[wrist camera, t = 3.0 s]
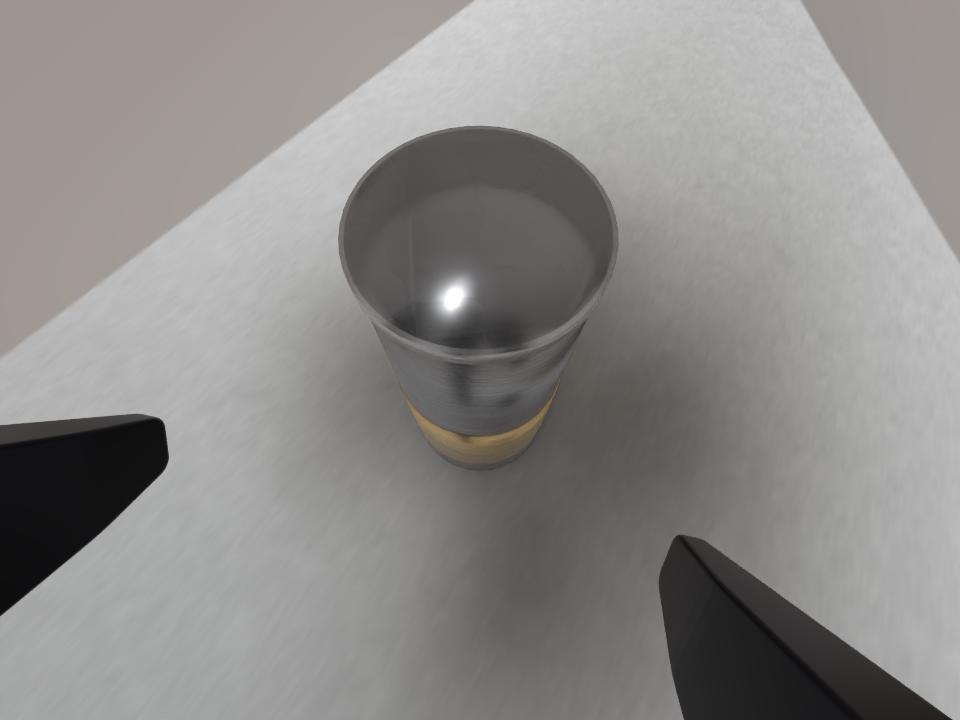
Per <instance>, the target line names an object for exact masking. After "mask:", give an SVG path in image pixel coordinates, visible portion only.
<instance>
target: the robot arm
mask: <svg viewBox="0 0 960 720" xmlns="http://www.w3.org/2000/svg"><path fill="white" fill-rule="evenodd" d="M168 460H169V453H168V445H167V438H166V430H165V425H164V423H163V421H162V420H161V419H160V418H157V417H153V416H148V415H144V414H127V415H116V416H104V417H92V418H81V419H69V420H57V421H45V422H34V423H22V424H10V425H0V616H1V615H3V614H4V613H5V612H6V611H7V610H9V609H10V608H11V607H12V606H14V605H15V604H16V603H17V602H18V601H20V600H21V599H22V598H23V597H24V596H26V595H27V594H28V593H29V592H30V591H32V590H33V589H34V588H35V587H36V586H38V585H39V584H40V583H41V582H43V581H44V580H45V579H46V578H47V577H49V576H50V575H51V574H52V573H53V572H55V571H56V570H57V569H58V568H59V567H61V566H62V565H63V564H64V563H66V562H67V561H68V560H69V559H70V558H72V557H73V556H74V555H75V554H76V553H78V552H79V551H80V550H81V549H82V548H84V547H85V546H86V545H87V544H88V543H90V542H91V541H92V540H93V539H94V538H95V537H97V536H98V535H99V534H100V533H101V532H102V531H103V530H104V529H105V528H107V527H108V526H109V525H110V524H111V523H112V522H113V521H114V520H115V519H116V518H117V517H118V516H119V515H120V514H121V513H122V512H123V511H124V510H125V509H126V508H127V507H128V506H129V505H130V504H131V503H132V502H133V501H134V500H135V499H136V498H137V497H138V496H139V495H140V494H141V493H142V492H143V491H144V490H145V489H146V488H147V487H149V486H150V485H151V484H152V483H153V482H154V481H155V480H156V479H157V478H158V477H159V476H160V475H161V474H162V472H163V471H164V470H165V468H166V466H167V464H168ZM659 592H660V598H661V605H662V612H663V618H664V625H665V632H666V638H667V645H668V652H669V658H670V664H671V670H672V675H673V679H674V683H675V687H676V691H677V695H678V699H679V703H680V706H681V710H682V714H683V718H684V720H952V719H951V718H949V717H948V716H947V715H945V714H944V713H942V712H941V711H940V710H938V709H937V708H936V707H934V706H933V705H931V704H930V703H929V702H927V701H926V700H924V699H923V698H922V697H920V696H919V695H918V694H916V693H915V692H913V691H912V690H911V689H909V688H908V687H906V686H905V685H904V684H902V683H901V682H900V681H898V680H897V679H895V678H894V677H893V676H891V675H890V674H888V673H887V672H886V671H884V670H883V669H882V668H880V667H879V666H877V665H876V664H875V663H873V662H872V661H871V660H869V659H868V658H866V657H865V656H864V655H862V654H861V653H859V652H858V651H857V650H855V649H854V648H853V647H851V646H850V645H848V644H847V643H846V642H844V641H843V640H841V639H840V638H839V637H837V636H836V635H835V634H833V633H832V632H830V631H829V630H828V629H826V628H825V627H823V626H822V625H821V624H819V623H818V622H817V621H815V620H814V619H812V618H811V617H810V616H808V615H807V614H805V613H804V612H803V611H801V610H800V609H799V608H797V607H796V606H794V605H793V604H792V603H790V602H789V601H787V600H786V599H785V598H783V597H782V596H781V595H779V594H778V593H776V592H775V591H774V590H772V589H771V588H769V587H768V586H767V585H765V584H764V583H763V582H761V581H760V580H758V579H757V578H756V577H754V576H753V575H751V574H750V573H749V572H747V571H746V570H745V569H743V568H742V567H740V566H739V565H738V564H736V563H735V562H733V561H732V560H731V559H729V558H728V557H727V556H725V555H724V554H722V553H721V552H720V551H718V550H717V549H716V548H714V547H713V546H711V545H710V544H709V543H707V542H706V541H704V540H702V539H700V538H695V537H691V536H686V535H677V536H676V537H675V538H674V539H673V541H672V544H671V546H670V549H669V551H668V554H667V556H666V559H665V561H664V564H663V566H662V569H661V571H660V576H659Z"/></svg>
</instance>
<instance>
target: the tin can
mask: <svg viewBox="0 0 960 720" xmlns="http://www.w3.org/2000/svg"><path fill="white" fill-rule="evenodd" d="M338 241H339V255H340V259H341V264H342V268H343V271H344V273H345V276H346V278H347V281H348V283H349V285H350V288H351V290H352V292H353V294H354V296H355V298H356V299H357V301H358V303H359V304H360V306H361V308H362V309H363V311H364V312H365V313H366V315H367V316H368V317H369V318H370V319H371V321H372V323H373V325H374V327H375V330H376V332H377V334H378V336H379V338H380V340H381V343H382V345H383V347H384V349H385V351H386V353H387V356H388V358H389V360H390V362H391V364H392V366H393V369H394V371H395V373H396V375H397V377H398V381H399V384H400V387H401V389H402V392H403V394H404V396H405V398H406V400H407V402H408V405H409V407H410V409H411V411H412V413H413V415H414V417H415V419H416V422H417V424H418V426H419V428H420V430H421V431H422V433H423V435H424V436H425V438H426V440H427V441H428V443H429V445H430V446H431V447H432V448H433V450H434V451H435V452H436V453H437V454H438V455H439V456H441V457H442V458H443V459H445V460H446V461H448V462H450V463H451V464H453V465H456V466H458V467H461V468H465V469H469V470H490V469H495V468H498V467H501V466H504V465H506V464H508V463H510V462H512V461H513V460H515V459H516V458H518V457H519V456H520V455H521V454H522V453H523V452H524V451H525V450H526V449H527V448H528V447H529V445H530V444H531V442H532V441H533V439H534V437H535V435H536V433H537V432H538V430H539V428H540V426H541V424H542V422H543V420H544V417H545V415H546V413H547V411H548V409H549V406H550V404H551V402H552V400H553V398H554V395H555V393H556V391H557V389H558V386H559V383H560V380H561V376H562V374H563V371H564V369H565V367H566V365H567V362H568V360H569V358H570V356H571V353H572V351H573V349H574V347H575V344H576V342H577V340H578V338H579V335H580V333H581V331H582V328H583V326H584V324H585V322H586V319H587V318H588V317H589V316H590V314H591V313H592V311H593V310H594V308H595V307H596V306H597V304H598V303H599V301H600V299H601V297H602V295H603V293H604V291H605V289H606V286H607V284H608V282H609V280H610V278H611V276H612V272H613V269H614V266H615V263H616V258H617V251H618V228H617V223H616V217H615V214H614V211H613V208H612V205H611V202H610V200H609V198H608V196H607V194H606V192H605V191H604V189H603V187H602V186H601V184H600V183H599V182H598V180H597V179H596V177H595V176H594V175H593V174H592V173H591V172H590V171H589V170H588V169H587V168H586V167H585V165H583V164H582V163H581V162H580V161H579V160H577V159H576V158H575V157H574V156H573V155H571V154H570V153H568V152H567V151H565V150H564V149H562V148H560V147H559V146H557V145H555V144H553V143H551V142H549V141H547V140H545V139H542V138H540V137H537V136H534V135H532V134H529V133H525V132H521V131H518V130H513V129H507V128H501V127H490V126H465V127H457V128H449V129H445V130H440V131H436V132H432V133H429V134H426V135H423V136H420V137H417V138H415V139H413V140H411V141H409V142H406V143H404V144H402V145H401V146H399V147H397V148H396V149H394V150H392V151H390V152H389V153H388V154H386V155H385V156H384V157H382V158H381V159H380V160H378V161H377V162H376V163H375V164H374V165H373V166H372V167H371V168H370V169H369V170H368V171H367V172H366V173H365V174H364V175H363V177H362V178H361V179H360V180H359V182H358V183H357V184H356V186H355V188H354V189H353V191H352V193H351V194H350V196H349V198H348V200H347V203H346V205H345V207H344V210H343V214H342V218H341V221H340V227H339V237H338Z"/></svg>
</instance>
